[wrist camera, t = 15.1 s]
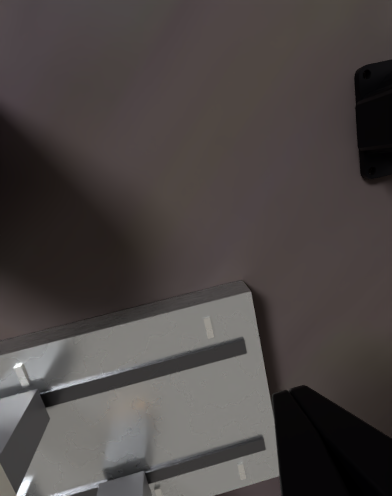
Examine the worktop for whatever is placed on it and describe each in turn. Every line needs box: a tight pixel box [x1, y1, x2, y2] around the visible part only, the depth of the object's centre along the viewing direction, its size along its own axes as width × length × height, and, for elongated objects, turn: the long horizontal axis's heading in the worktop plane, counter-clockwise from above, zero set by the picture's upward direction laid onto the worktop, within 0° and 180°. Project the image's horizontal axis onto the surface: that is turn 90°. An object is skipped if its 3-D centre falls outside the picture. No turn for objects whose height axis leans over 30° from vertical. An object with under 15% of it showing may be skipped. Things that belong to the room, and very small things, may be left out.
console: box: [0, 280, 279, 496], centre depth 20 cm, size 20×15×3 cm
